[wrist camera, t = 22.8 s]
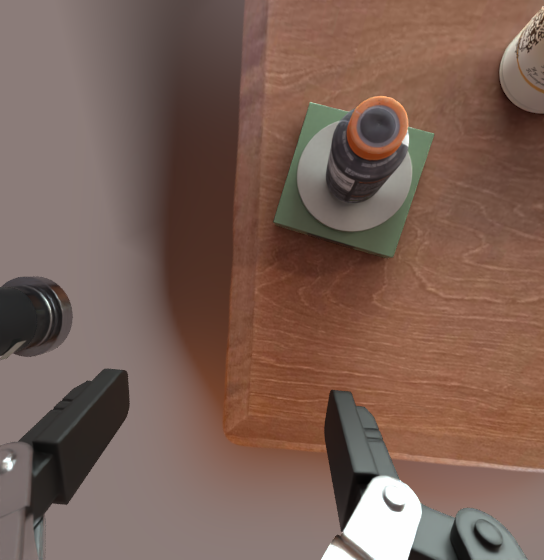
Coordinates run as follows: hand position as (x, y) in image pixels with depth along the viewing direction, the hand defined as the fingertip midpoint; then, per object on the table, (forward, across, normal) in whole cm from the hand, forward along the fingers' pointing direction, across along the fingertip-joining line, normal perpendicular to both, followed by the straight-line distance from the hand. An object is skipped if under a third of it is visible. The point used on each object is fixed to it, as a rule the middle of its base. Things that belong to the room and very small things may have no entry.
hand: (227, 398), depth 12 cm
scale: (+28, -9, -9) cm, 31 cm away
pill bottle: (+24, -9, -10) cm, 28 cm away
